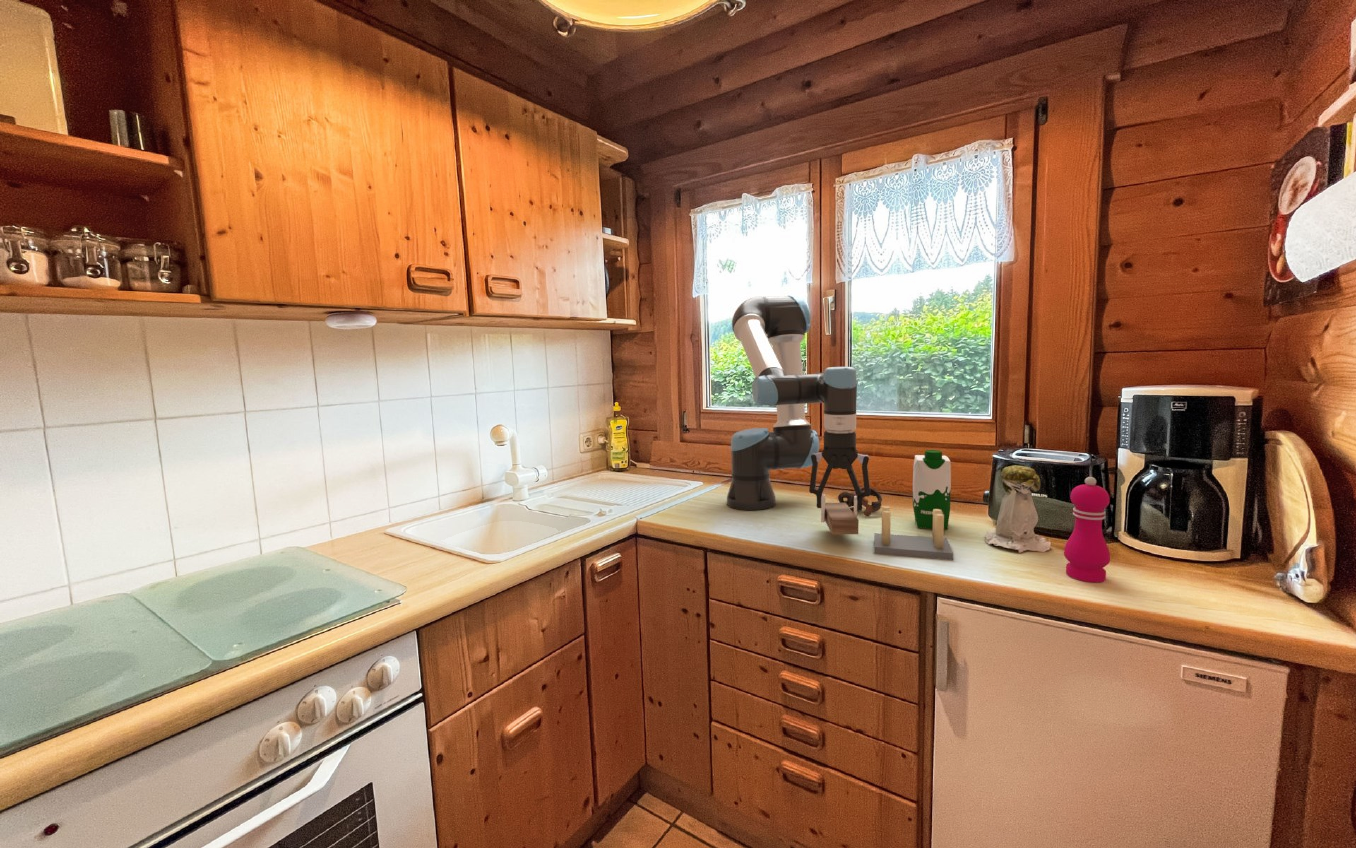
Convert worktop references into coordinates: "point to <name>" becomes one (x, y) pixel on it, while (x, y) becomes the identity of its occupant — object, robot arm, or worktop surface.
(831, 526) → the brown rectangular block
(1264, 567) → the worktop surface
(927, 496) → the milk carton
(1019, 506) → the mushroom sculpture
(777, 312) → the robot arm
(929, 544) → the peg stand
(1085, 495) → the pepper mill
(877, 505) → the twisted brown knot
